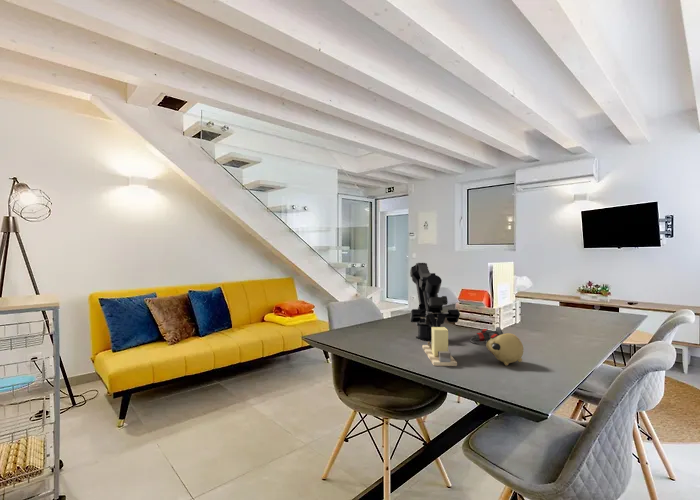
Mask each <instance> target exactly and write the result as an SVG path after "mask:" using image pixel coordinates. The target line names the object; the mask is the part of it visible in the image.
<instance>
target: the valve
mask: <svg viewBox="0 0 700 500" xmlns="http://www.w3.org/2000/svg"><path fill="white" fill-rule="evenodd" d="M502 334H504V332H503V330H502V328H501V327H499V326H497V327H495V330H490V329H487V328H482V329H481V331H480V332H476V334H474V336H472V337H471V338H470V339H469V341H470V343H472V344H475V345H476V344H477V345H480V344H482V345H483V344H486V341H487V340H488V339H491V338H492V339H494V338H495V337H497V336H499V335H502Z"/></svg>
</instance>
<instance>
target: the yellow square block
mask: <svg viewBox="0 0 700 500" xmlns="http://www.w3.org/2000/svg"><path fill="white" fill-rule="evenodd" d="M431 328H432V340H431V341H432V353H433V355H434V356H438V351H449V330H448V329H447V328H446V327H445V326H440V327H431Z"/></svg>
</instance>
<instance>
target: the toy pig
mask: <svg viewBox="0 0 700 500" xmlns="http://www.w3.org/2000/svg"><path fill="white" fill-rule="evenodd" d="M485 341H486V343H485V346H486V349H487V350H488V351H489V352H490V353H491V354H492V355H493V356H494V358H495V359H496V360H498V361H499V362H501V363H503V364H504V365H505V366H509V364H511V363H512V364H513V363H515V362H519V363H522V362H523V358H522V357H523V355H524V350H525V349H524V348H525V347H524V344H523V342H522V341H521V339H520V338H519V337H518V336H517V335H515V334H514V333H511V332H507V333H503V334H502V335H499V336H497V337H495V338H494V339H492V338H491V339H488V340H485Z"/></svg>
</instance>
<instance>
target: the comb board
mask: <svg viewBox="0 0 700 500" xmlns="http://www.w3.org/2000/svg"><path fill="white" fill-rule="evenodd" d="M422 350H423V351H424V353H425V354H426V356H427V357H428V359H429V360H430V362H431V364H432V365H433V366H435V367H438V366H439V367H440V366H441V367H448V366H449V367H452V366H453V367H457V366H458V362H457V360H456V359H455V358H454V357H453V356H452V355H451V352H450V350H448V351H438V356H434V355H433V353H432V340H430V341H427V344H422Z"/></svg>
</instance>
